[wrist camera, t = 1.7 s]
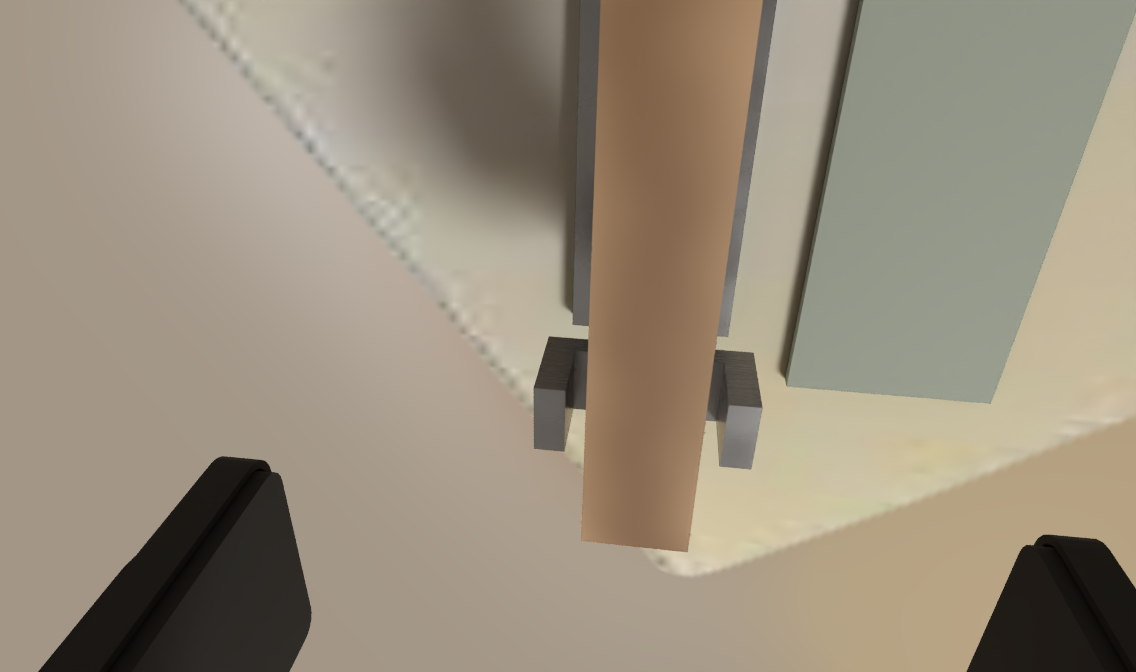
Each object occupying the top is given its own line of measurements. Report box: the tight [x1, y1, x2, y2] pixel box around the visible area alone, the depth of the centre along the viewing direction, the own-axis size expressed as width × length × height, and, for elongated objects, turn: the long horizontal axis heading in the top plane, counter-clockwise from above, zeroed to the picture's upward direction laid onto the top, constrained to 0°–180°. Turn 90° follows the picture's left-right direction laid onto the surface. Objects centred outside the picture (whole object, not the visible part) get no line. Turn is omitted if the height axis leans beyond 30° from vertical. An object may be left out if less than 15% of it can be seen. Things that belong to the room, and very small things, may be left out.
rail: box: [581, 0, 763, 552], centre depth 21 cm, size 4×22×4 cm, turn 179°
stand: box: [534, 0, 777, 469], centre depth 25 cm, size 7×19×11 cm, turn 179°
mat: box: [785, 0, 1136, 404], centre depth 29 cm, size 9×24×1 cm, turn 179°
